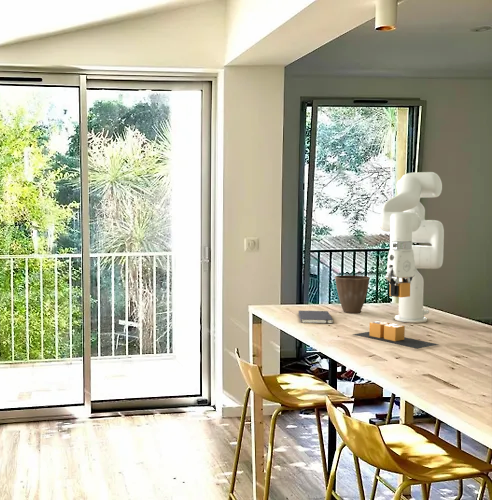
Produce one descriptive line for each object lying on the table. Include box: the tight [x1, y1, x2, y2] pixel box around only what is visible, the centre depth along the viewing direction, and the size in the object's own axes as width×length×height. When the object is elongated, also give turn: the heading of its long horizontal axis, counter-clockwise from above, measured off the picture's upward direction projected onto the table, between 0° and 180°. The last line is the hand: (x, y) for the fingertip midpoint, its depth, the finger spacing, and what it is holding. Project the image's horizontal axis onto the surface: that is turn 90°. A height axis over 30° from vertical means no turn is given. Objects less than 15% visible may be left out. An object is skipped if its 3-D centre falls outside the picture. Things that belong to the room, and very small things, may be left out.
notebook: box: [298, 310, 334, 324], centre depth 279 cm, size 13×2×21 cm
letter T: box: [389, 281, 410, 298], centre depth 238 cm, size 5×5×5 cm
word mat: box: [352, 331, 440, 350], centre depth 234 cm, size 12×28×1 cm, turn 30°
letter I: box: [384, 323, 406, 341], centre depth 234 cm, size 5×5×5 cm
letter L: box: [368, 320, 391, 338], centre depth 240 cm, size 5×5×5 cm
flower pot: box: [334, 274, 370, 314], centre depth 294 cm, size 15×15×16 cm
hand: (399, 295), depth 238 cm, fingers closed on letter T, 5 cm apart
